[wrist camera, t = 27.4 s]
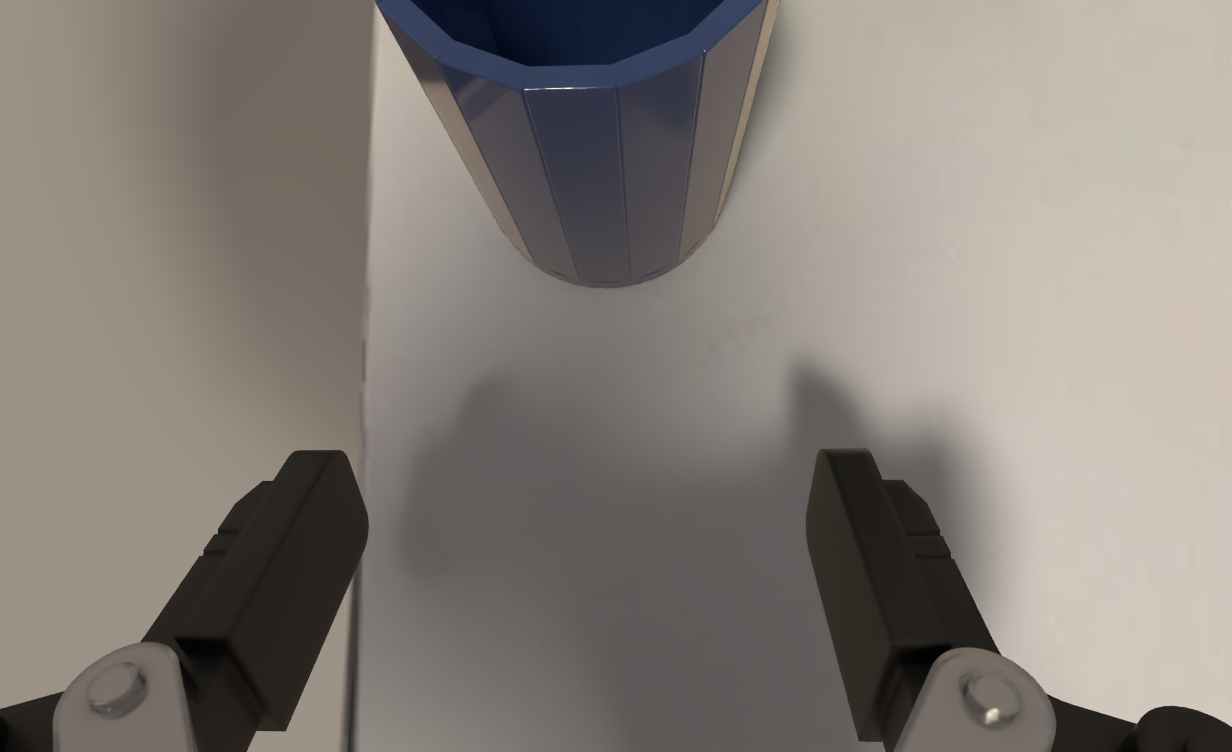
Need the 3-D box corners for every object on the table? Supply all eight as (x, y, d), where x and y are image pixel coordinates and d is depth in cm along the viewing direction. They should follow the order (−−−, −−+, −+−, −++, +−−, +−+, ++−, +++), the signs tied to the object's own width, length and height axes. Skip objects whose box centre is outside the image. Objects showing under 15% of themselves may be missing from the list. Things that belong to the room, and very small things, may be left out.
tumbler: (485, 290, 18) (333, 95, 9) (494, 70, 19) (366, -288, 10) (729, 287, 18) (812, 83, 9) (724, 65, 19) (791, -309, 10)
